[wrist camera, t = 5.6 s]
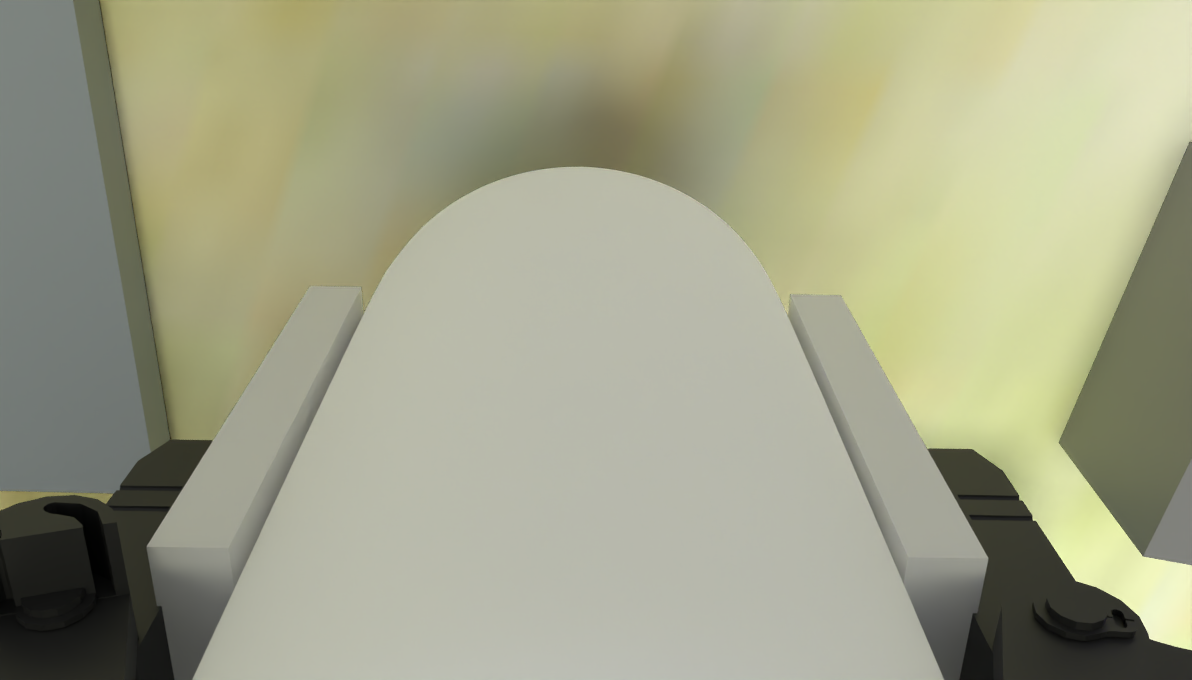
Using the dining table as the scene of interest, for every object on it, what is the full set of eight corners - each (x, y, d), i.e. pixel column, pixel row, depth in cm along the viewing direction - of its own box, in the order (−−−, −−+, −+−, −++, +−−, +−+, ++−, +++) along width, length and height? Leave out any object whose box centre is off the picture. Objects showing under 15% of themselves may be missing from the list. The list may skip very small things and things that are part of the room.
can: (401, 112, 15) (-53, 773, 4) (840, 208, 16) (1391, 995, 5) (343, 495, 18) (-34, 1509, 7) (722, 564, 19) (919, 1593, 8)
